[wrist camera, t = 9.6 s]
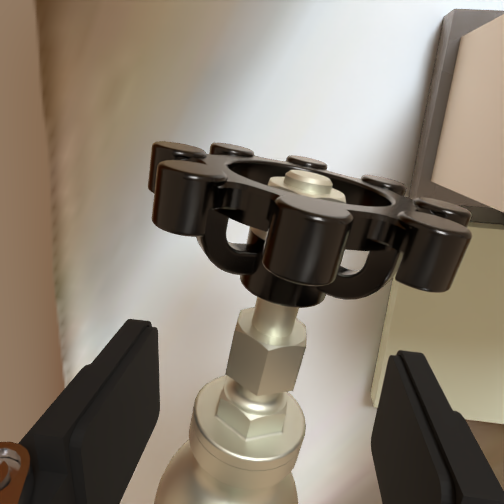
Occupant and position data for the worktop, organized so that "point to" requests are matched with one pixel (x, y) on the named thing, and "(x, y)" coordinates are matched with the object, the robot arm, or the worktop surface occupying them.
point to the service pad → (456, 329)
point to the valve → (283, 294)
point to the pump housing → (465, 114)
